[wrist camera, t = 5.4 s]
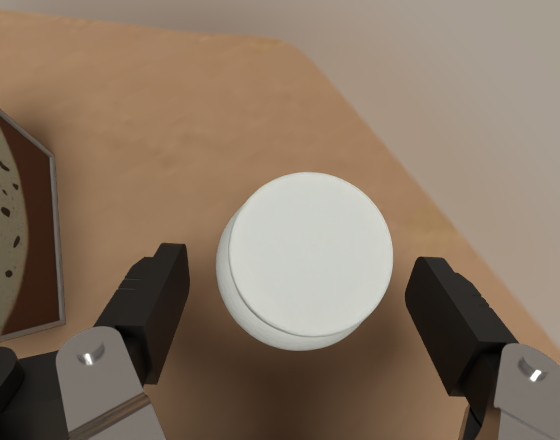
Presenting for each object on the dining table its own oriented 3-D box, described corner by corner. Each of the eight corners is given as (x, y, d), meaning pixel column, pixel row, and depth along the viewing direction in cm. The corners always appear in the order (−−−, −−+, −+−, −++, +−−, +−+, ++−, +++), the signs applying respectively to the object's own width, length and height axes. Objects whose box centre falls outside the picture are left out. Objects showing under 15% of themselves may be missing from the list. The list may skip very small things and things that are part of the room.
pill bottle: (218, 312, 16) (157, 323, 7) (253, 217, 18) (242, 115, 8) (319, 347, 16) (398, 407, 7) (346, 247, 17) (444, 181, 8)
